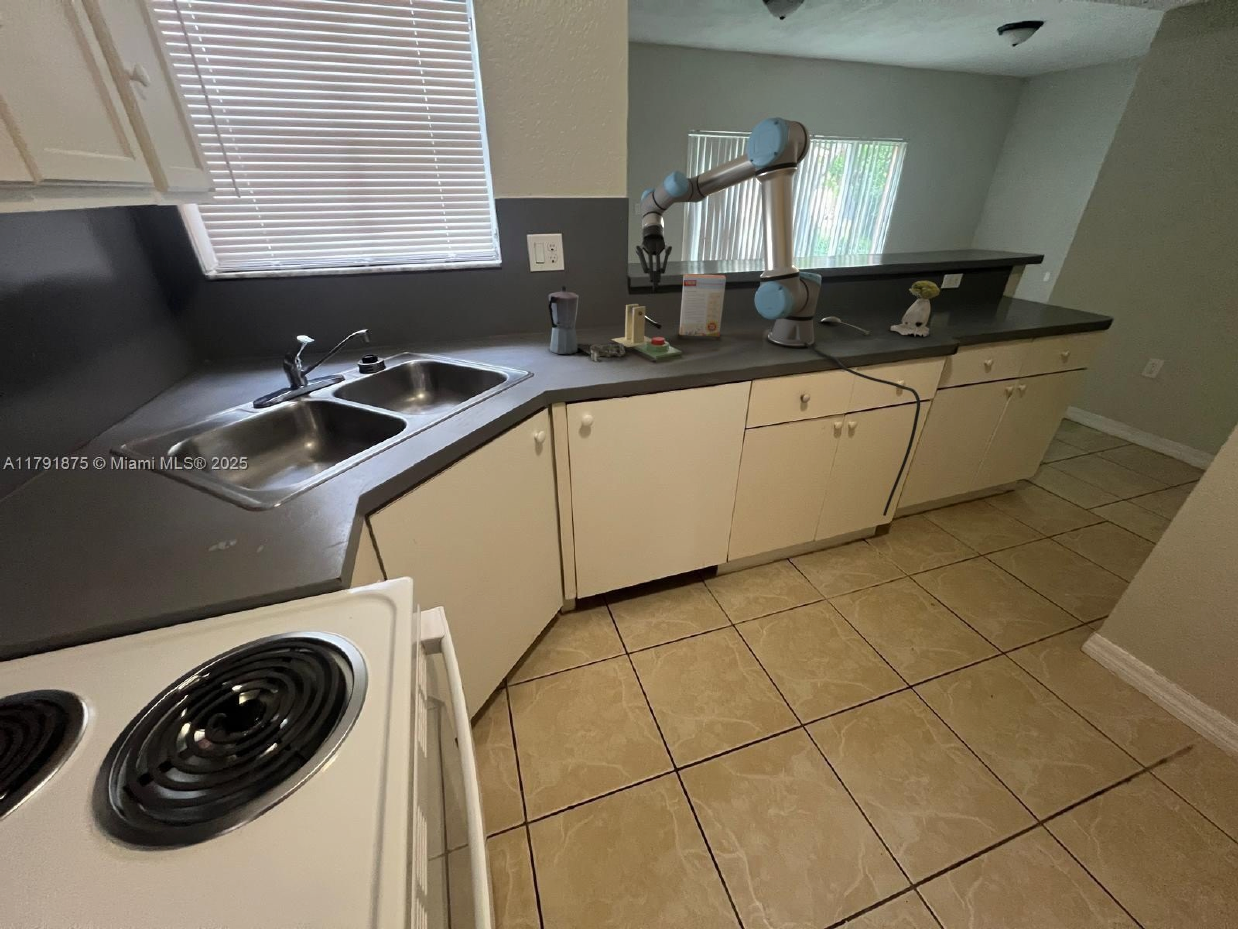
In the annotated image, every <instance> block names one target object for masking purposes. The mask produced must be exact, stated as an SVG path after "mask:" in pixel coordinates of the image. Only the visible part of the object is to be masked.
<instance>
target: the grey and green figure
mask: <svg viewBox="0 0 1238 929" xmlns="http://www.w3.org/2000/svg"><path fill="white" fill-rule="evenodd" d="M908 291H909V292H910V294H912V295H913V296H916V297H917V299H916V300H915V301H914V302H913V303H912V304H911V306H910V307H909V308H908V309H907V310H906V312H905V314H904V315H903V317H902V318H901V324H898V325H897V324H896V325H895V324H894V325H891V326H890V331H895V332H897V333H899V334H900V335H902V336H908V335H911V334H912V335H914V336H916V335H919V336H920V337H922V335H923V337H927V336H928V335H929V332H930V329H929V327H927V324H928V321H929V317H930V314H931V304H930V299H932V298H935V297H937V296H939V295H940V292H941V289H940V288H939V287H938V285H937V284H936V283H934V282H932V281H930V280H918V281H915V282H913V283H912V285H911V288H908Z"/></svg>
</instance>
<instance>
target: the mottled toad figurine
mask: <svg viewBox="0 0 1238 929" xmlns="http://www.w3.org/2000/svg"><path fill="white" fill-rule="evenodd" d="M589 349H590V352H589V353H591V354H590V357H591V361H595V362H600V361H601V359H600V357H606V358H611V357H613V356H616V357H622V356H625V354H626V351H625V350H626V349H625V346H624V345H623V344H622V343H616V344H615V343H613V344H611V343H608V344H599V343H593V344H592V345H591V346H590V347H589ZM617 351H619V352H617Z"/></svg>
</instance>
